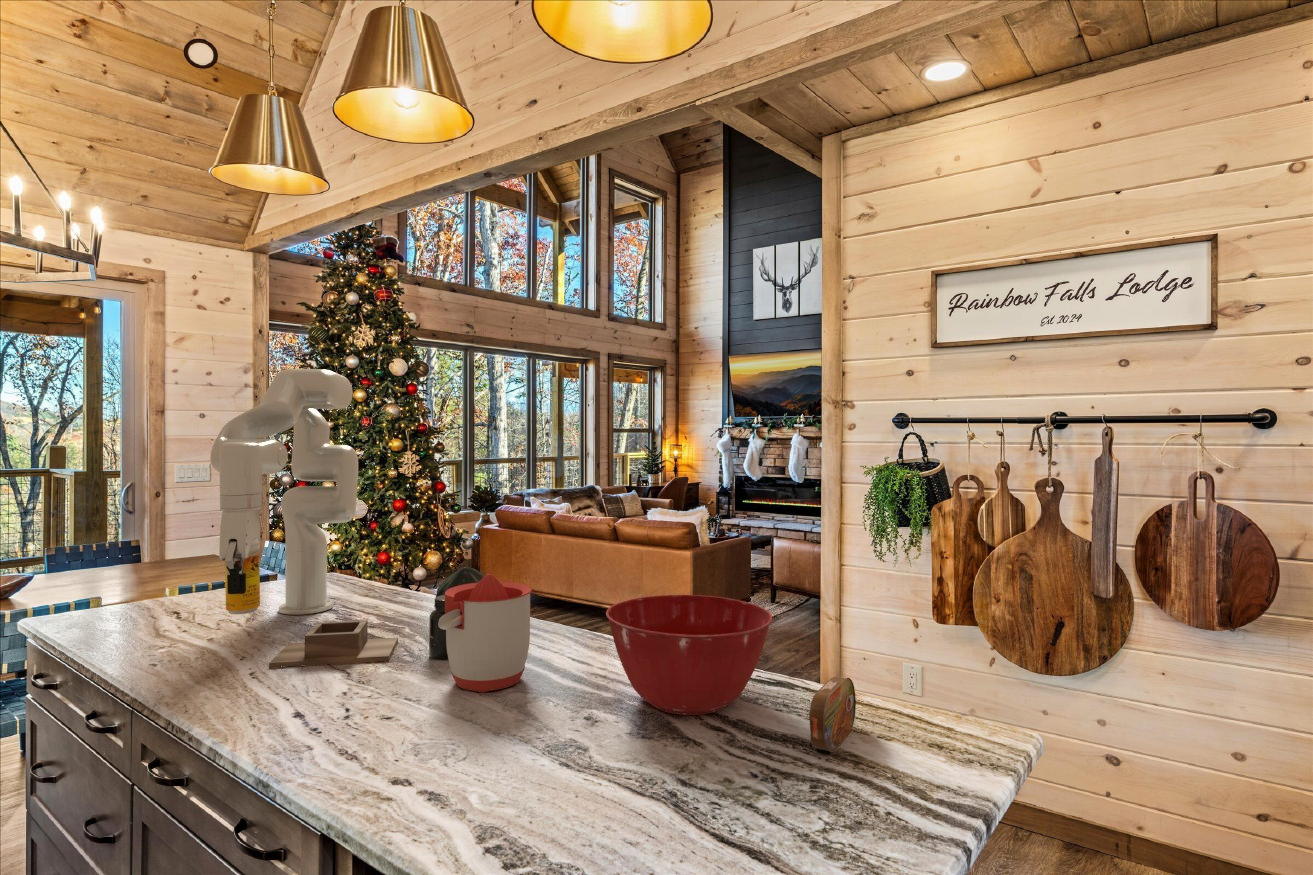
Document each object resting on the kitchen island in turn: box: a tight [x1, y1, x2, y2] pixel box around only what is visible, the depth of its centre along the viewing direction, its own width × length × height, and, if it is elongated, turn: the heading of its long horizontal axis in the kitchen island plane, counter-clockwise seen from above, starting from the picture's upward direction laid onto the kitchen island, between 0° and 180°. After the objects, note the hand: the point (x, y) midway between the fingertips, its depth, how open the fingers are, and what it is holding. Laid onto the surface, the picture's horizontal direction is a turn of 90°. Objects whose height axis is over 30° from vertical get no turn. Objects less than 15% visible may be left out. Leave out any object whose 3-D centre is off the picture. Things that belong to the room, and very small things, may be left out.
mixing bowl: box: [605, 594, 773, 716], centre depth 123 cm, size 28×28×16 cm
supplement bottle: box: [428, 595, 449, 661], centre depth 147 cm, size 7×7×12 cm
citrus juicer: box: [438, 573, 533, 693], centre depth 131 cm, size 16×17×20 cm
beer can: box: [224, 537, 261, 615], centre depth 147 cm, size 6×6×15 cm
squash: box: [434, 566, 486, 610], centre depth 170 cm, size 14×15×15 cm
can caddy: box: [268, 619, 399, 668], centre depth 147 cm, size 13×22×6 cm, turn 102°
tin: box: [808, 676, 857, 753], centre depth 108 cm, size 15×3×8 cm, turn 148°
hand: (242, 588), depth 147 cm, fingers closed on beer can, 6 cm apart
